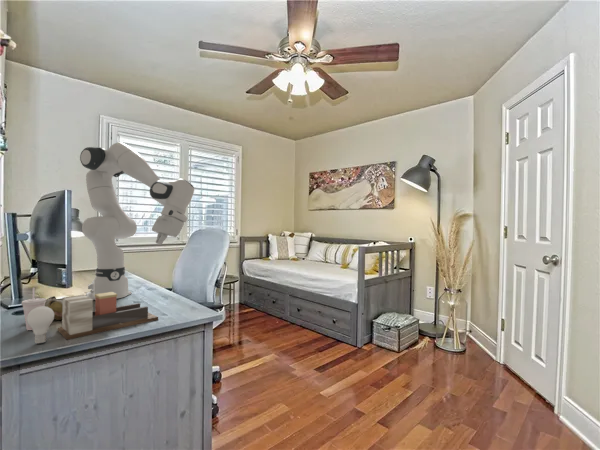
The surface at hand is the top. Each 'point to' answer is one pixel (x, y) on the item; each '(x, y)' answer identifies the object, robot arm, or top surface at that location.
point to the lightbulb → (40, 322)
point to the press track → (98, 317)
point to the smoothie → (32, 306)
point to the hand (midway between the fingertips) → (158, 243)
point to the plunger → (105, 303)
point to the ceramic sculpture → (55, 306)
